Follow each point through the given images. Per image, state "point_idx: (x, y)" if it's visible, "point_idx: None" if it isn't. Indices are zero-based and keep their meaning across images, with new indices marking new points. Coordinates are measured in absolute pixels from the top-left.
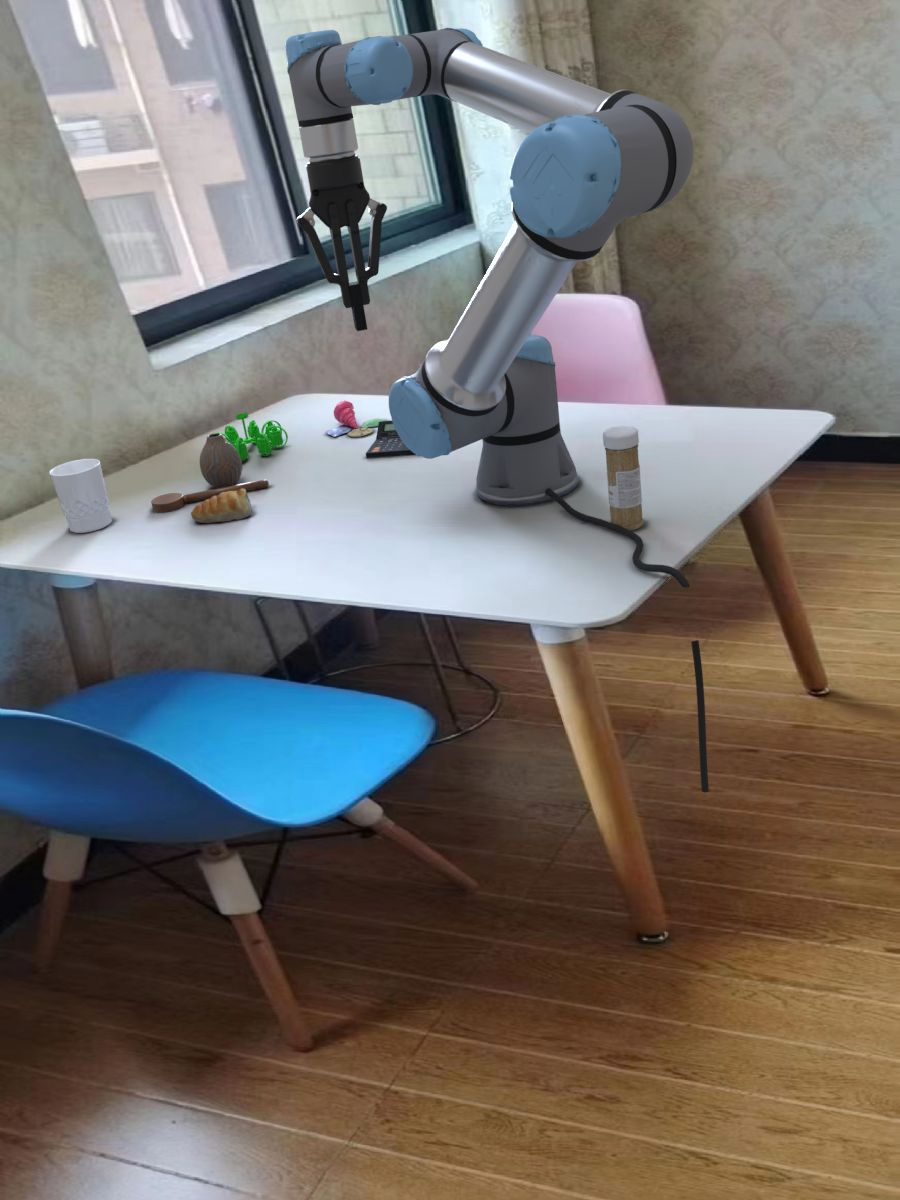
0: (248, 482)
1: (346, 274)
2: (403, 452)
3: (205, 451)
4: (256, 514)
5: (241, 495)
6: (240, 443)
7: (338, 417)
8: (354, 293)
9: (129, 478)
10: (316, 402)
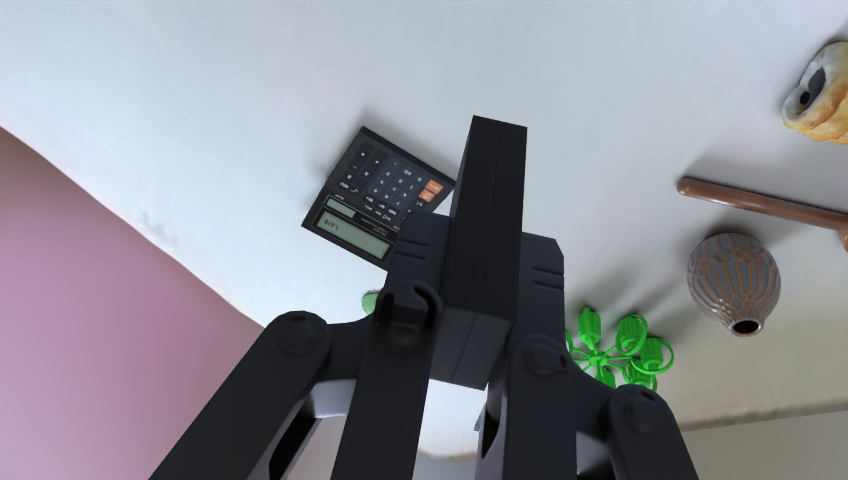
0: (717, 200)
1: (520, 398)
2: (389, 146)
3: (773, 302)
4: (806, 46)
5: (844, 83)
6: (632, 342)
7: None
8: (496, 267)
9: (804, 376)
10: (423, 423)
